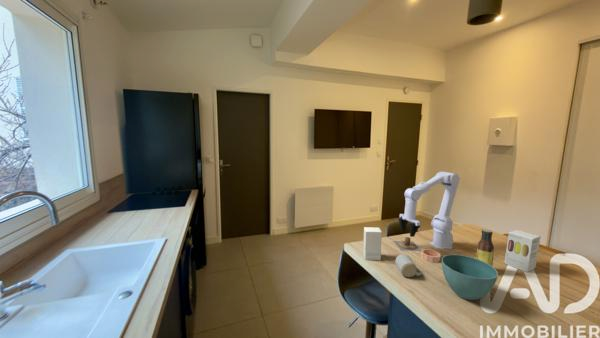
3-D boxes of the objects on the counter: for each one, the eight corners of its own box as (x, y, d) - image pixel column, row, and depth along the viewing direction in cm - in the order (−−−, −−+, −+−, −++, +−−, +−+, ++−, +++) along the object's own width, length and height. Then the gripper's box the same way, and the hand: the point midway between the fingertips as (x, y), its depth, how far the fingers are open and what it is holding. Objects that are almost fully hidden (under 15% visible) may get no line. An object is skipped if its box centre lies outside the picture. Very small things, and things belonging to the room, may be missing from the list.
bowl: (434, 254, 127) (434, 249, 127) (443, 263, 118) (444, 257, 118) (417, 254, 127) (418, 248, 127) (426, 262, 118) (426, 257, 118)
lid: (411, 242, 141) (412, 234, 141) (419, 249, 132) (420, 241, 131) (395, 242, 141) (396, 234, 141) (402, 249, 132) (403, 241, 131)
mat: (412, 242, 143) (412, 241, 143) (422, 251, 131) (422, 250, 131) (393, 241, 143) (393, 241, 143) (401, 251, 131) (401, 250, 131)
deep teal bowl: (470, 313, 84) (473, 282, 82) (429, 283, 101) (431, 257, 100) (505, 304, 89) (510, 274, 87) (461, 277, 106) (463, 252, 105)
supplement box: (503, 263, 119) (507, 231, 117) (511, 259, 124) (516, 229, 122) (528, 272, 111) (533, 239, 109) (536, 268, 115) (541, 235, 113)
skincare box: (378, 254, 126) (379, 227, 124) (381, 261, 119) (382, 232, 118) (362, 253, 127) (363, 226, 125) (364, 260, 120) (365, 231, 118)
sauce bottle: (494, 274, 109) (499, 234, 106) (479, 273, 110) (484, 232, 108) (486, 267, 115) (491, 228, 113) (472, 265, 116) (476, 227, 114)
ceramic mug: (400, 278, 105) (402, 262, 104) (394, 268, 113) (395, 253, 112) (424, 279, 105) (426, 263, 104) (416, 269, 113) (418, 254, 112)
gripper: (395, 206, 135) (393, 229, 137) (413, 214, 121) (410, 239, 123) (406, 206, 137) (403, 228, 138) (424, 214, 123) (421, 238, 124)
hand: (407, 233), depth 131 cm, fingers open, 7 cm apart
